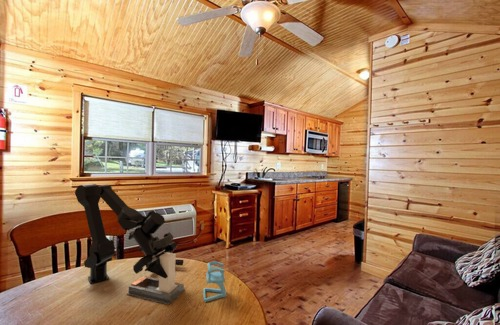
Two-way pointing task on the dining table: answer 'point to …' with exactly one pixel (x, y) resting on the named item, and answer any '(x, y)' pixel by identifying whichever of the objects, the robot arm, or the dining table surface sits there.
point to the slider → (169, 267)
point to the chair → (215, 280)
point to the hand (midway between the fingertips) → (170, 274)
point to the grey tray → (153, 290)
